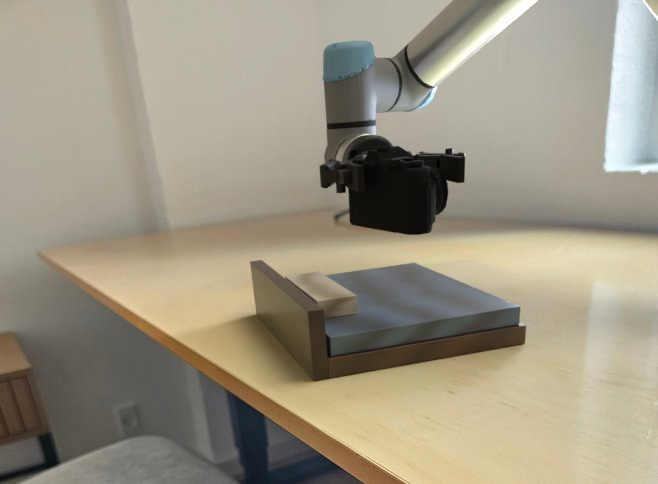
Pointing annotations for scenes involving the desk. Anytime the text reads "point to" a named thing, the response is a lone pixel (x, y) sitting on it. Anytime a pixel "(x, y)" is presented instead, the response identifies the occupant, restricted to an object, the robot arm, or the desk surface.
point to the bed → (312, 333)
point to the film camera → (397, 192)
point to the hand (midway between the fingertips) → (411, 174)
